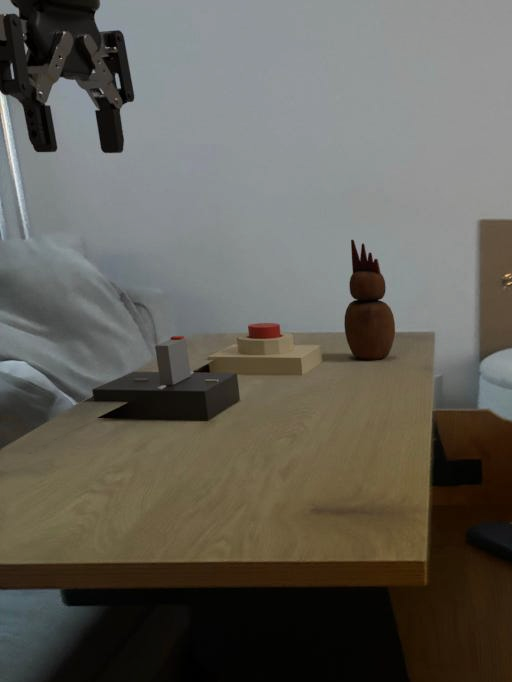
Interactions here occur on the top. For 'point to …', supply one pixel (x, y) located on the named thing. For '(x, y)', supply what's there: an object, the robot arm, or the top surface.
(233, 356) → the stop box
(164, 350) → the gray flat block
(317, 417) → the top surface
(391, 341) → the wooden figurine
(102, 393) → the panel
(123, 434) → the top surface
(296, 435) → the top surface
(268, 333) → the stop button
